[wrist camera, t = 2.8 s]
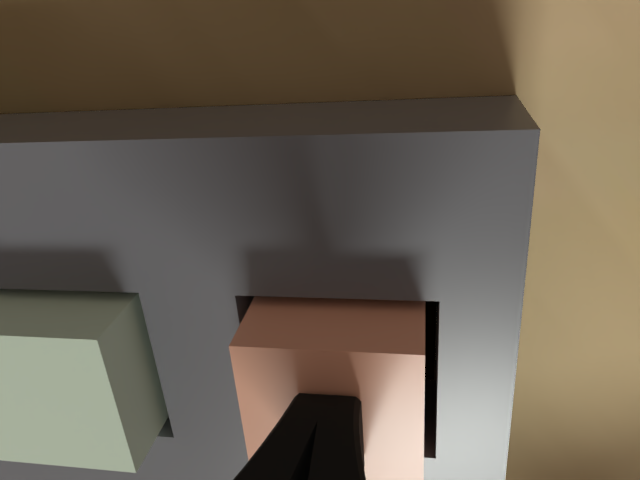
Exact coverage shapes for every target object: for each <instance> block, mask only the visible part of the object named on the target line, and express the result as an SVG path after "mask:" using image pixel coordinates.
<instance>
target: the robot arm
mask: <svg viewBox="0 0 640 480" xmlns="http://www.w3.org/2000/svg"><path fill="white" fill-rule="evenodd" d="M364 466H365V462H364V442H363V423H362V403H361V401H360V400H359V399H358V398H357V397H356V396H340V395H324V394H308V393H299V394H297V395H296V396H295V397H294V399H293V400H292V402H291V403H290V405H289V406H288V408H287V409H286V411H285V412H284V414H283V415H282V417H281V418H280V420H279V421H278V422H277V424H276V425H275V427H274V428H273V429H272V431H271V432H270V433H269V435H268V436H267V438H266V439H265V440H264V442H263V443H262V444H261V446H260V447H259V448H258V449H257V451H256V452H255V453H254V454H253V456H252V457H251V458H250V460H249V461H248V462H247V463H246V465H245V466H244V467H243V468H242V470H241V471H240V472H239V473H238V474H237V476H236V477H235V478H234V479H233V480H366V477H365V471H364Z"/></svg>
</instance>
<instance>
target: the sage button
mask: <svg viewBox="0 0 640 480" xmlns="http://www.w3.org/2000/svg"><path fill="white" fill-rule="evenodd" d="M168 417H169V415H168V411H167V407H166V403H165V399H164V395H163V391H162V387H161V383H160V379H159V374H158V370H157V366H156V362H155V358H154V354H153V350H152V346H151V342H150V338H149V334H148V330H147V325H146V321H145V317H144V313H143V309H142V305H141V301H140V297H139V293H130V292H96V291H61V290H27V289H0V460H2V461H13V462H24V463H34V464H45V465H56V466H67V467H77V468H88V469H99V470H110V471H120V472H131V473H136V472H137V471H138V469H139V467H140V465H141V464H142V462H143V460H144V458H145V457H146V455H147V453H148V452H149V450H150V448H151V446H152V445H153V443H154V441H155V439H156V438H157V436H158V434H159V432H160V431H161V429H162V427H163V425H164V424H165V422H166V420H167V418H168Z"/></svg>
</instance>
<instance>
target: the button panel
mask: <svg viewBox="0 0 640 480" xmlns="http://www.w3.org/2000/svg"><path fill="white" fill-rule="evenodd" d="M539 135H540V129H539V127H538V126H537V124H536V123H535V121H534V120H533V118H532V117H531V116H530V114H529V113H528V111H527V110H526V108H525V107H524V106H523V104H522V103H521V101H520V100H519V98H518V97H517V96H516V95H513V96H486V97H458V98H431V99H403V100H376V101H348V102H321V103H294V104H266V105H239V106H211V107H184V108H156V109H129V110H101V111H74V112H46V113H19V114H0V289H27V290H61V291H96V292H130V293H139V297H140V301H141V305H142V309H143V313H144V317H145V321H146V325H147V330H148V334H149V338H150V342H151V346H152V350H153V354H154V358H155V362H156V366H157V370H158V374H159V379H160V383H161V387H162V391H163V395H164V399H165V403H166V407H167V411H168V415H169V417H168V418H167V420H166V422H165V424H164V425H163V427H162V429H161V431H160V432H159V434H158V436H157V438H156V439H155V441H154V443H153V445H152V446H151V448H150V450H149V452H148V453H147V455H146V457H145V458H144V460H143V462H142V464H141V465H140V467H139V469H138V471H137V472H136V473H131V472H120V471H110V470H99V469H88V468H77V467H67V466H56V465H45V464H34V463H24V462H13V461H2V460H0V480H233V479H234V478H235V477H236V476H237V474H238V473H239V472H240V471H241V470H242V468H243V467H244V466H245V465H246V463H247V462H248V455H247V449H246V443H245V437H244V432H243V426H242V420H241V414H240V409H239V403H238V397H237V391H236V385H235V380H234V374H233V368H232V362H231V356H230V351H229V345H230V343H231V341H232V339H233V337H234V335H235V333H236V331H237V329H238V327H239V325H240V324H241V322H242V320H243V318H244V316H245V314H246V312H247V310H248V308H249V306H250V304H251V302H252V300H253V299H254V297H255V296H269V297H304V298H338V299H373V300H407V301H436V322H435V369H434V380H430V379H425V408H424V480H505V477H506V467H507V457H508V447H509V437H510V427H511V417H512V407H513V397H514V387H515V377H516V367H517V357H518V347H519V337H520V326H521V316H522V306H523V296H524V286H525V276H526V266H527V256H528V246H529V236H530V226H531V216H532V206H533V196H534V186H535V176H536V166H537V155H538V145H539Z"/></svg>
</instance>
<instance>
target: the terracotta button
mask: <svg viewBox="0 0 640 480" xmlns="http://www.w3.org/2000/svg"><path fill="white" fill-rule="evenodd" d="M229 351H230V356H231V362H232V368H233V374H234V380H235V385H236V391H237V397H238V403H239V409H240V414H241V420H242V426H243V432H244V437H245V443H246V449H247V455H248V461H249V460H250V458H251V457H252V456H253V454H254V453H255V452H256V451H257V449H258V448H259V447H260V446H261V444H262V443H263V442H264V440H265V439H266V438H267V436H268V435H269V433H270V432H271V431H272V429H273V428H274V427H275V425H276V424H277V422H278V421H279V420H280V418H281V417H282V415H283V414H284V412H285V411H286V409H287V408H288V406H289V405H290V403H291V402H292V400H293V399H294V397H295V396H296V395H297V394H299V393H308V394H324V395H340V396H356V397H357V398H358V399H359V400H360V401H361V403H362V423H363V442H364V462H365V466H364V471H365V477H366V480H424V408H425V301H407V300H373V299H338V298H304V297H269V296H255V297H254V299H253V300H252V302H251V304H250V306H249V308H248V310H247V312H246V314H245V316H244V318H243V320H242V322H241V324H240V325H239V327H238V329H237V331H236V333H235V335H234V337H233V339H232V341H231V343H230V345H229Z"/></svg>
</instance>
